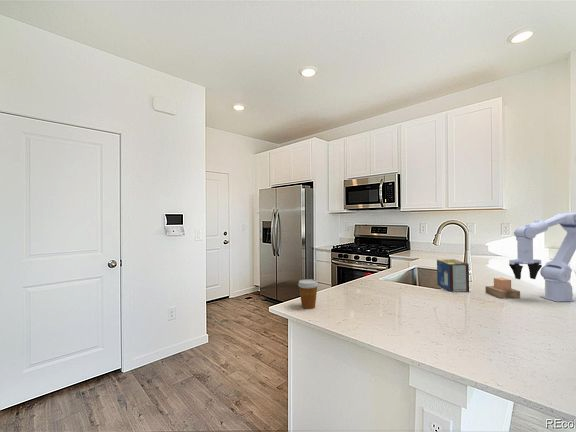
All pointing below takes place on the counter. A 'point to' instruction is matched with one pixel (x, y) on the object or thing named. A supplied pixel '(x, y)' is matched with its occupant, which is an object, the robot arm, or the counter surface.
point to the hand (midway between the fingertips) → (525, 278)
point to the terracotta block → (502, 283)
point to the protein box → (453, 275)
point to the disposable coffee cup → (308, 293)
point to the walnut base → (502, 293)
